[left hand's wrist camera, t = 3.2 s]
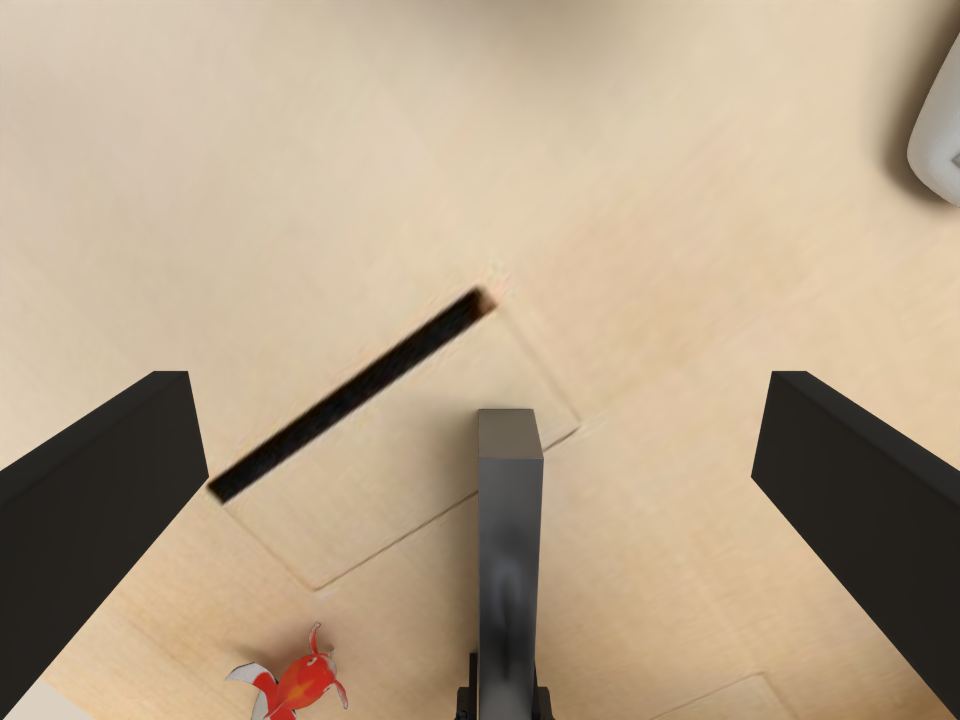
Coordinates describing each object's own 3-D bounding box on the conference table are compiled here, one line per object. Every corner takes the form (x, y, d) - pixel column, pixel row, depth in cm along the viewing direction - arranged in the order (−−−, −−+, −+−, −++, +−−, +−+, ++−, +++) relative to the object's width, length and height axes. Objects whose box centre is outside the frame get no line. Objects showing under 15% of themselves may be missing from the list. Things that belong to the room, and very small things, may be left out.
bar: (478, 409, 48) (478, 457, 40) (533, 408, 48) (543, 457, 40) (478, 684, 60) (478, 764, 52) (523, 684, 60) (529, 764, 52)
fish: (395, 713, 54) (318, 802, 46) (304, 705, 63) (226, 778, 55) (354, 614, 54) (270, 685, 46) (269, 619, 63) (186, 680, 55)
